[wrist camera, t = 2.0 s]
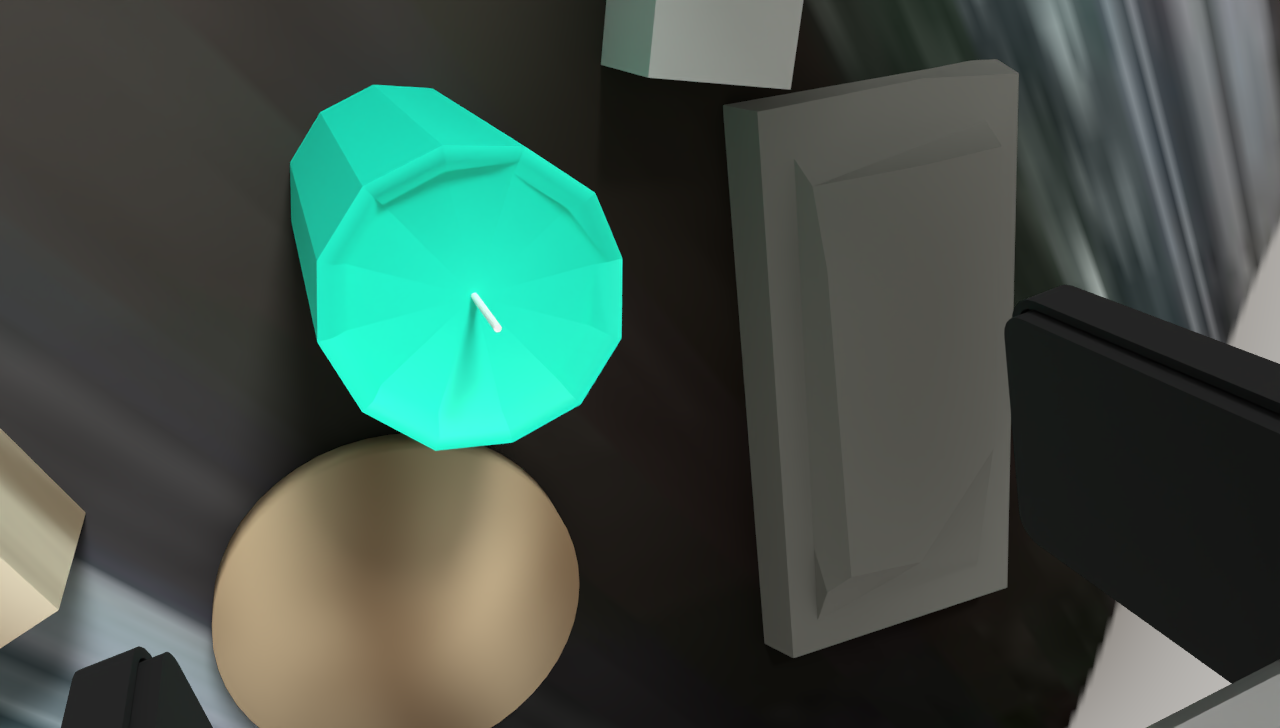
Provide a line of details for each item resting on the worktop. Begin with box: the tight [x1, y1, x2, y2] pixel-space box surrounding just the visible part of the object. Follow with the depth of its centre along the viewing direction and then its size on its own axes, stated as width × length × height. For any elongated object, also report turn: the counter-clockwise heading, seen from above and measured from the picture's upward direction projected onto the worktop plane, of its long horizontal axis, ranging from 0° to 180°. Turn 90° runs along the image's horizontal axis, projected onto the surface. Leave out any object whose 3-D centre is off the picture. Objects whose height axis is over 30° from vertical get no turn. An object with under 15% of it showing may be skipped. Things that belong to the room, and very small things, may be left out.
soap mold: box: [723, 59, 1019, 658], centre depth 35 cm, size 10×20×4 cm, turn 7°
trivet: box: [212, 434, 579, 728], centre depth 32 cm, size 11×11×1 cm
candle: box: [290, 85, 622, 451], centre depth 23 cm, size 6×6×12 cm
